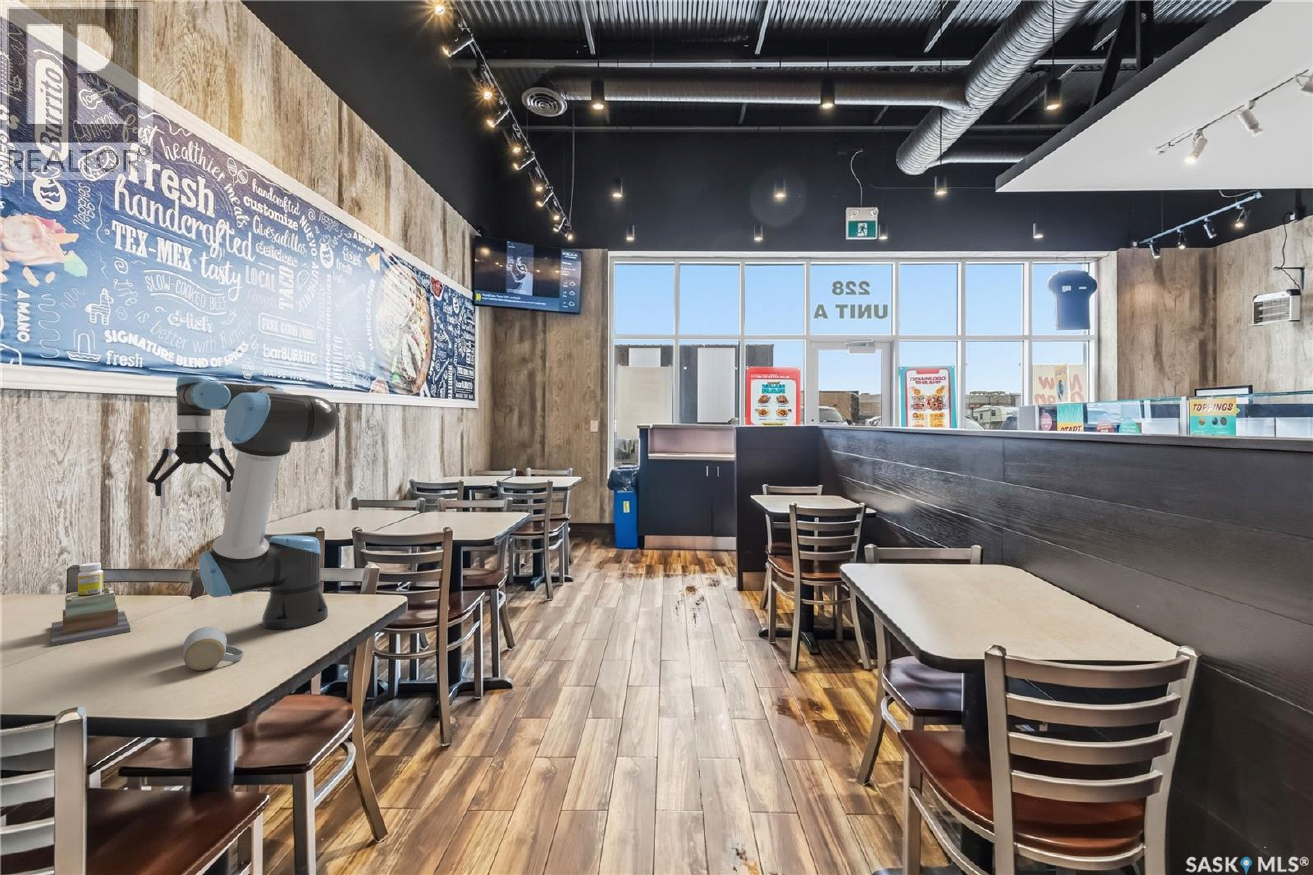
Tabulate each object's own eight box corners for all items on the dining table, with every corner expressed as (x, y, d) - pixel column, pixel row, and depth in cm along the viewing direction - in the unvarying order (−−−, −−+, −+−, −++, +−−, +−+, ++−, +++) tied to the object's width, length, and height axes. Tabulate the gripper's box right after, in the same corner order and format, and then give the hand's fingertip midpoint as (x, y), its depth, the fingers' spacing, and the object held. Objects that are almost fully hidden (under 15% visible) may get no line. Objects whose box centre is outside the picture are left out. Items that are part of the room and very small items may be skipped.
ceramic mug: (182, 676, 120) (183, 640, 120) (183, 664, 126) (183, 629, 126) (244, 664, 126) (245, 630, 126) (242, 653, 133) (242, 620, 133)
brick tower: (130, 631, 147) (130, 595, 147) (51, 646, 137) (50, 607, 137) (124, 615, 161) (123, 581, 161) (51, 627, 151) (51, 591, 150)
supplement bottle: (89, 594, 151) (88, 562, 151) (108, 593, 151) (108, 561, 151) (72, 599, 146) (72, 566, 146) (92, 598, 147) (92, 565, 147)
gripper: (244, 431, 173) (244, 501, 173) (133, 431, 155) (133, 508, 155) (250, 431, 168) (250, 502, 168) (135, 430, 150) (136, 511, 150)
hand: (194, 505), depth 162 cm, fingers open, 13 cm apart
